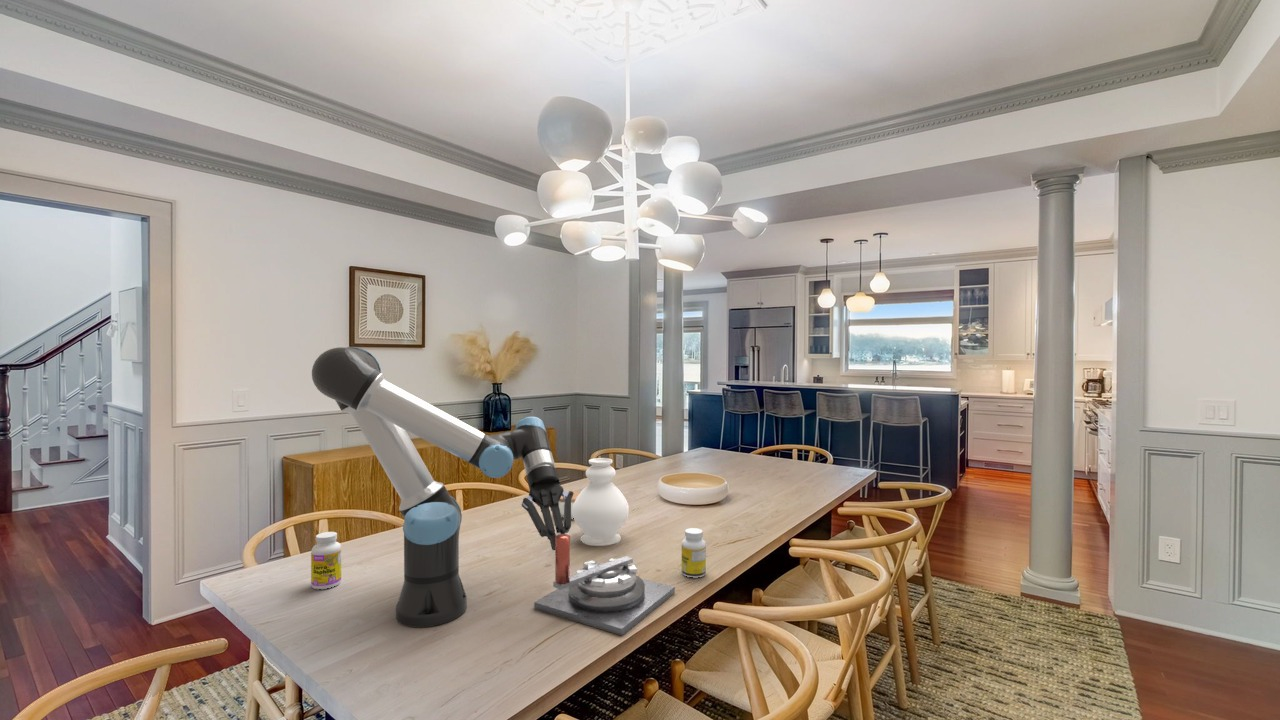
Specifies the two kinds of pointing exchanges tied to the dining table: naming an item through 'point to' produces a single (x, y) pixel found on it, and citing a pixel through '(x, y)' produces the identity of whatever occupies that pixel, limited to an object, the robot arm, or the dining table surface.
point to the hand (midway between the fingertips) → (563, 562)
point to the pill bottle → (693, 553)
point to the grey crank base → (606, 605)
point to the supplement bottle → (326, 561)
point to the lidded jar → (561, 502)
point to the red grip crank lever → (593, 573)
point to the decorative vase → (600, 505)
